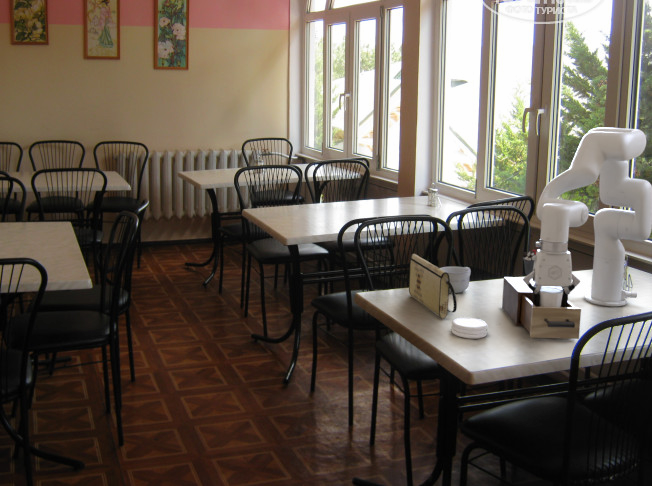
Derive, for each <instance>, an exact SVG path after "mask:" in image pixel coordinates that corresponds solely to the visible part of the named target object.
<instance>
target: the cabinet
mask: <svg viewBox="0 0 652 486" xmlns="http://www.w3.org/2000/svg"><path fill="white" fill-rule="evenodd" d="M523 278H524V277H520V276H519V277H517V276H515V277H513V276H504V277H503V285H502V299H501V300H502V301H501V309H502V311H503V312H504V313H505V314H506V316H507V317H508V318H509V319H510V320H511V322H512V323H513V324H514V325H515V327H525V326H524V325H523V324H522V323H521V322H520V321H519V316H520V301H521V295H533V291H532V290H531V289H530V288H529V287H528V286H527V285H526V284H525V283H524V281H523ZM530 283H531V284H532V285H533V286H534V284H535V282H534V281H533V279H531V280H530ZM542 287H546V286H542ZM553 288H558V289H561V290H562V288H561V287H553Z"/></svg>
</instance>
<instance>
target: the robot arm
mask: <svg viewBox="0 0 652 486" xmlns="http://www.w3.org/2000/svg"><path fill="white" fill-rule="evenodd" d="M646 146H647V137H646V134H645V132H644V131H643V130H641V129H637V128H621V127H595V128H591V129H590V130H588V132H587V133H585V135H583V137H582V138H581V140H580V142H579V145H578V147H577V149H576V152H575V153H574V156H573V158H572V161H571V164H570V165H569V167H568V169H566V170H565V171H563V172H561V173H560V174H557V175H556V177H554V178H553V179H551V180H550V181H549V182H548V183H547V184H546V185H545V186H544V188H543V190H542V193H541V195H540V197H539V199H538V202H537V205H536V211H535V212H536V213H535V215H536V217H537V219H538V220H539V221H540V237H539V238H540V239H539V241H535V242H534V248H535V247H536V248H538V247H539V248H538V249H537V250H536V251H537V253H536V256H535V261H534V266H533V271H532V272H531V273H530V274H528V275H527V274H526V276H524V277H522V278H523V281H524V283H525V284H526V285H527V286H528V287H529V288H530V289H531V290H532V291H533V297H532V303H533V304H534V305H535V306H536V307H539V302H540V294H539V291H540V289H541V287H542V286H546V287H561V288H562V290H563V296H562V301H561V306H562V307H566V304H567V303H568V301H569V295H570V294H571V292H572V291H573V290H574V289H575V288H576V287H577V286H578V285H579V284H580V282H581V280H580V279H579V278H578V277H577V276H575V275H574V274H573V265H572V264H573V263H572V253H571V252H570V251H569V250H568V247H569V233H570V228H579V227H581V226H583V225H584V224H585V223H586V222H587V221H588V220H589V215H590V211H589V210H590V209H589V207H588V206H587V205H586V203H584V202H582V201H579V200H571V199H563V198H559V197H560V196H561V195H563V194H565V193H567V192H569V191H573V190H577V189H580V188H584V187H587V186H591V185H592V184H593V185H594V184H595V182H597V180H598V179H599V189H598V190H599V191H598V193H599V200H600V202H601V203H602V204H604V205H606V206H613V207H620V208H629V209H633V210H626V209H620V208H619V209H618V208H601V209H599V210H598V211H597V212H596V213H595V214H594V216H593V230H594V231H593V232H594V233H593V234H594V250H593V261H592V262H593V263H592V265H593V266H592V273H591V274H592V276H591V286H590V288H591V289H590V293H588V294H586V295H585V298H584V299H585V301H587V302H588V303H591V304H593V305H597V306H603V307H622V306H625V305H626V304H627V300H626V299H627V298H630V299H636V298H637V297H638V293H637V292H636V291H630V290H625V289H623V284H624V275H625V273H624V272H625V261H626V249H625V246H624V244H623V243H622V242H621V240H627V241H634V242H645V241H647V240H648V239H649V238H650V237H651V233H652V184H651V182H649V180H646V179H644V178H643V179H642V178H631V177H630V176H629V161H630V160H632V159H635V158H638V157H639V156H641V155H642V154H643V153H644V151H645V149H646ZM531 279H533V281H534V282H535V284H534V286H533V285H532V284H531V283H530V280H531Z"/></svg>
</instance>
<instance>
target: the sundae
mask: <svg viewBox="0 0 652 486" xmlns="http://www.w3.org/2000/svg"><path fill="white" fill-rule="evenodd" d="M538 249H540V248H539V247H537V248H535V249H532V251H531V250H530V251H528V252H526V251H524V253H523V255H524V257H523V256H522V258H521V259H522V260H523V264H524V272H525V274H526V276H527V275H528V274H530V273H531V272H532V271H533V266H534V261H535V256H536V253H537V250H538Z"/></svg>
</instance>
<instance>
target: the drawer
mask: <svg viewBox="0 0 652 486" xmlns="http://www.w3.org/2000/svg"><path fill="white" fill-rule="evenodd" d="M532 297H533V295H521V301H520V316H519V321H520V322H521V323H522V324H523V325H524V326H523V327H524V329H526V330H527V332H529V338H531V339H564V340H565V339H570V340H572V339H573V340H579V339H580V329H581V316H582V308H581V307H576V306H575V305H574V304H573V303H572V302H570V301H569V300H568V303H567V304H566V307H562V306H561V307H536V306H535V305H534V304H533V303H532Z"/></svg>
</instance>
